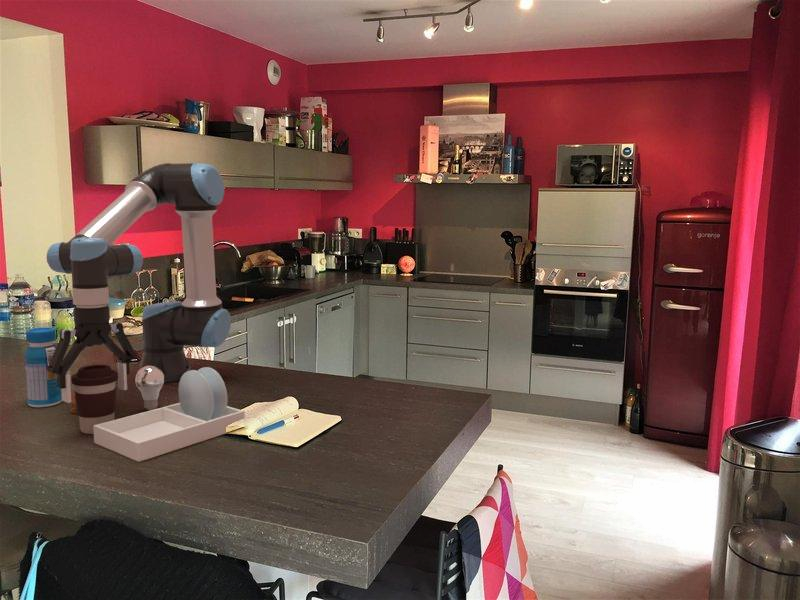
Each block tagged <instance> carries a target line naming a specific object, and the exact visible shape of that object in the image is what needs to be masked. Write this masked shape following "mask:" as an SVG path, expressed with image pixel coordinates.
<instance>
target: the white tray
mask: <svg viewBox="0 0 800 600" xmlns="http://www.w3.org/2000/svg"><path fill="white" fill-rule="evenodd" d="M245 416H246V415H245V410H242V409H238V408H235V407H232V406H228V405H227V407H226V411H225V413H224V414H223V416H222V417H219V418H216V419H213V420H211V419H209V420H208V421H204V420H201V419H198V418H195V417H192V416H189V415H186V414H184V412H183V410H182V408H181V405H180V402H178V403H172V404H169V405H166V406H163V407H159V408H158V407H157V408H156V409H154V410H150V411H148V410H147V411H143V412H139V413H135V414H133V415H128V416H125V417H122V418H117V419H114V420H113V421H109V422H105V423H101V424H97V425H94V426H93V428H94V434H93V444H96V445H98V446H101V447H103V448H105V449H108V450H111V451H112V452H115V453H117V454H119V455H122V456H124V457H125V458H128V459H131V460H133V461H135V462H139V463H140V462H143V461H146V460H149V459H152V458H155V457H158V456H161V455H165V454H168V453H170V452H174V451H177V450H180V449H182V448H186V447H189V446H191V445H192V446H193V445H195V444H198V443H201V442H204V441H208V440H209V439H213V438H217V437H219V436H223V435H226V434H227V433H226V427H227V426H228V425H230V424H232V423H234V422H236V421H239V420H241V419H244V418H245ZM245 419H246V418H245Z"/></svg>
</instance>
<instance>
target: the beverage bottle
mask: <svg viewBox="0 0 800 600" xmlns="http://www.w3.org/2000/svg"><path fill="white" fill-rule="evenodd" d="M56 335H57V334H56V329H55V328H54V327H47V326H46V327H35V328H28V329H27V330H26V331H25V336H26V337H25V339H26V343H27V344H29V345H28V346H27V347H26V350H25V352H24V355H23V356H24V359H25V363H24V370H25V381H26V383H25V384H26V395H27V396H26V397H27V400H26V402H27V405H28V406H29V407H32V408H46V407H47V408H48V407H52V406H57V405H58V404H61V403H62V402H63V401H62V390H61V388H58V386H57V374H54V373H51V372H48V371H47V368H48V366H49V363H50V361H51V359H52V356H53V354H54V352H55V349H56V347H57V345H56V344H55V343H54V342H56V338H57V337H56Z"/></svg>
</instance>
